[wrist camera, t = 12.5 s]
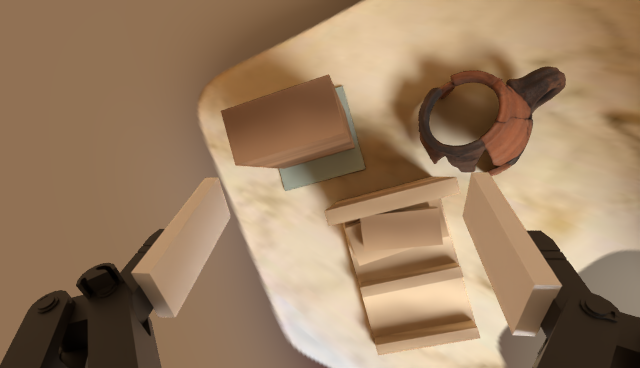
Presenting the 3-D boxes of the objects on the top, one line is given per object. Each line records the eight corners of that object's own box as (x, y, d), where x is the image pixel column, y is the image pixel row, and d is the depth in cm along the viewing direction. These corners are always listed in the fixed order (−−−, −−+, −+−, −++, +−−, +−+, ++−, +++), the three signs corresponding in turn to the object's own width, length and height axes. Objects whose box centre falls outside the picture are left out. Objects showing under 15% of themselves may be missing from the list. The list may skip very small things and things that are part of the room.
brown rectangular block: (355, 148, 32) (344, 132, 20) (284, 168, 34) (235, 165, 22) (345, 111, 32) (328, 74, 20) (274, 133, 34) (220, 110, 22)
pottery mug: (471, 201, 31) (448, 187, 25) (419, 136, 36) (389, 110, 30) (594, 121, 27) (605, 77, 20) (517, 58, 31) (506, 6, 25)
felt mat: (365, 168, 32) (365, 168, 32) (286, 190, 34) (285, 190, 34) (343, 87, 33) (342, 85, 32) (265, 112, 34) (263, 111, 34)
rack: (474, 329, 31) (516, 393, 22) (377, 346, 33) (379, 412, 24) (432, 176, 31) (456, 177, 22) (337, 201, 33) (324, 211, 24)
